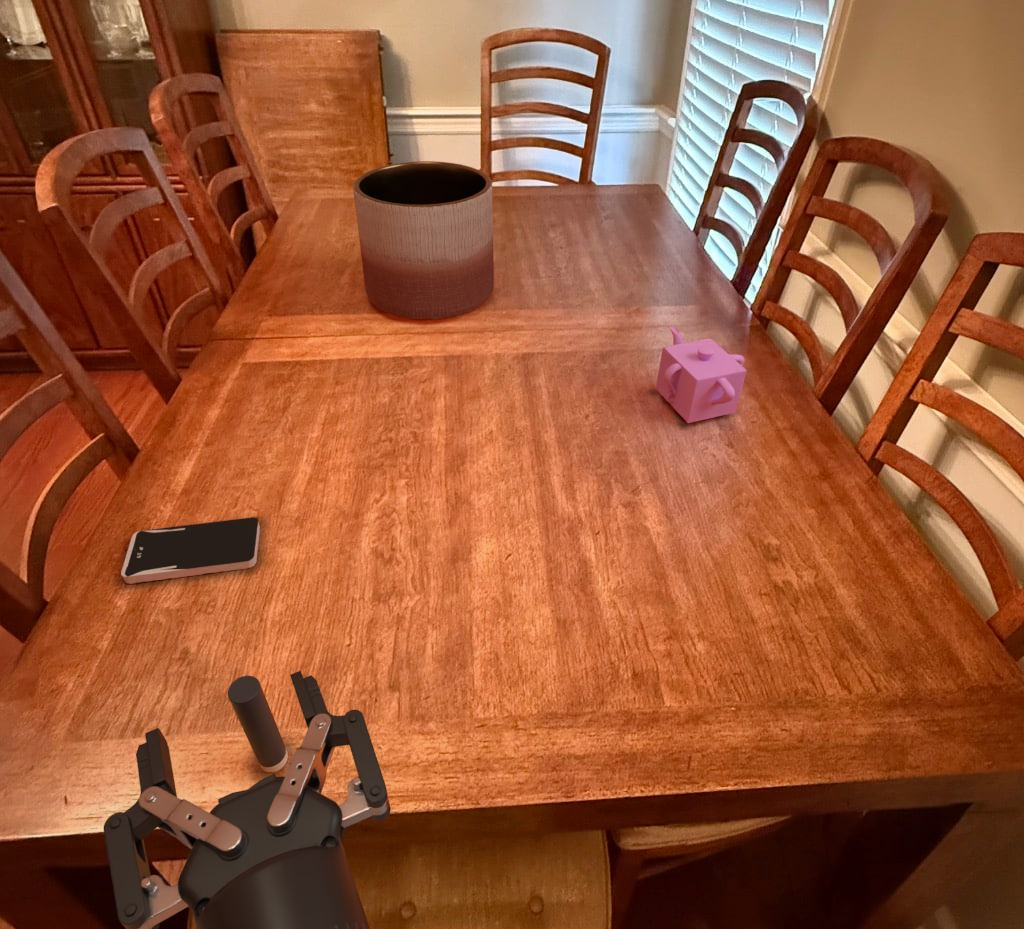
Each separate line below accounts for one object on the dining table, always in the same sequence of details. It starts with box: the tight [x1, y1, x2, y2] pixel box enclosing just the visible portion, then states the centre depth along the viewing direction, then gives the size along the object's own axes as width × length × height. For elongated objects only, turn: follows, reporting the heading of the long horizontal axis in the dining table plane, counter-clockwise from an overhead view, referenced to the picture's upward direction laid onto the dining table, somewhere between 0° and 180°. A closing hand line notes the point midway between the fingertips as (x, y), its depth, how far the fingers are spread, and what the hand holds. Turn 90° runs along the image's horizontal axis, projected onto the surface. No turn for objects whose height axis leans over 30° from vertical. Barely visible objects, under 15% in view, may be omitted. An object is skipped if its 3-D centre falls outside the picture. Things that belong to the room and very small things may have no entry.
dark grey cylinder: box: [227, 675, 289, 773], centre depth 62 cm, size 3×3×12 cm
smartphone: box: [120, 516, 261, 585], centre depth 85 cm, size 8×1×15 cm
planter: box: [352, 160, 495, 321], centre depth 132 cm, size 25×25×22 cm
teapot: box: [655, 326, 748, 424], centre depth 108 cm, size 18×14×10 cm
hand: (229, 707), depth 43 cm, fingers open, 8 cm apart
